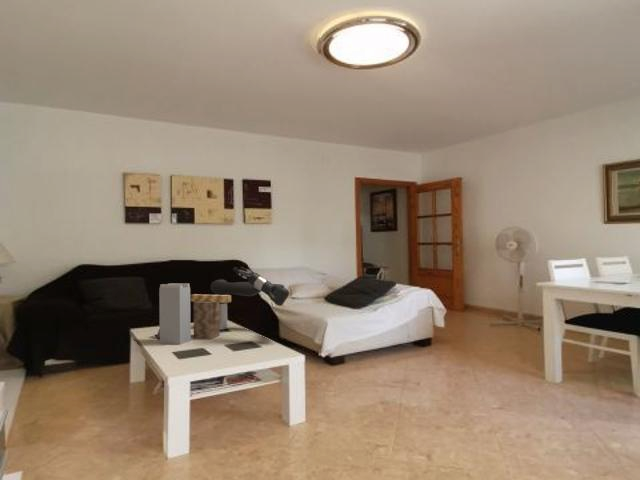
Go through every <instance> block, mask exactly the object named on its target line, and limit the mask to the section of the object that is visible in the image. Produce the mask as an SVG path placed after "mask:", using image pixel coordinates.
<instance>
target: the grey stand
mask: <svg viewBox="0 0 640 480" xmlns="http://www.w3.org/2000/svg"><path fill="white" fill-rule="evenodd" d="M159 285H160V286H159V288H158V289H159V294H158V296H159V328H160V339H159V344H169V345H182V344H185V343H189V342H191V338H192V337H191V334H192V333H191V332H192V331H191V325H192V324H191V287H190V283H167V284H166V283H164V284H163V283H162V284H159Z"/></svg>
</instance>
